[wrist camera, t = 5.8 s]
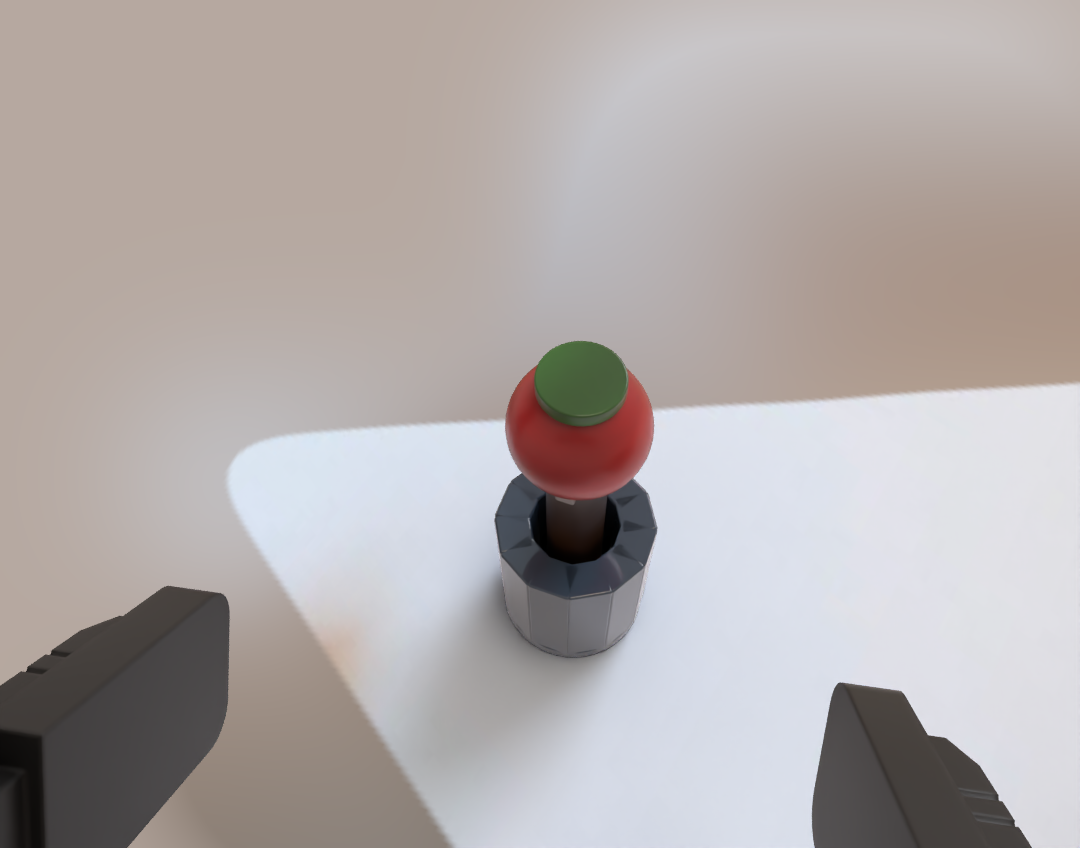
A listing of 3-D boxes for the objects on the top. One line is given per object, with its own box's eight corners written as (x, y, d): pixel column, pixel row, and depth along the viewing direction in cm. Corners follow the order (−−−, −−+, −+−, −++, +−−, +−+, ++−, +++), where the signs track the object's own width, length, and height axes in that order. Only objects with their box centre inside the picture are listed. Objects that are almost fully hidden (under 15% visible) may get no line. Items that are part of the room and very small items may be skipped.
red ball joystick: (503, 615, 27) (476, 417, 18) (541, 523, 29) (534, 298, 20) (606, 651, 27) (634, 467, 17) (639, 555, 28) (680, 339, 19)
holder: (483, 630, 28) (471, 566, 23) (532, 513, 30) (529, 435, 26) (616, 677, 27) (627, 620, 22) (656, 553, 29) (673, 480, 25)
